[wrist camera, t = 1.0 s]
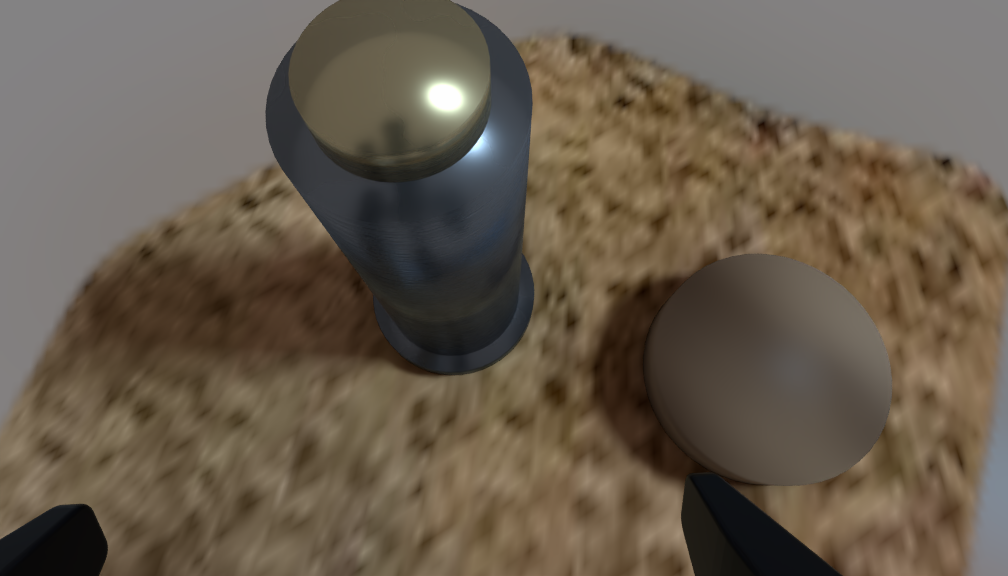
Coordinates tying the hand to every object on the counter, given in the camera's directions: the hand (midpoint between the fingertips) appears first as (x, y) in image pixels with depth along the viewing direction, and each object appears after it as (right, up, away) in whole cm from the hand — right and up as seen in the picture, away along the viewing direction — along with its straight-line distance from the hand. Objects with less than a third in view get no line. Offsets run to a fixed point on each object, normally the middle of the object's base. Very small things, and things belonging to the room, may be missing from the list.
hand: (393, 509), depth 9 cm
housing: (0, +3, +15) cm, 15 cm away
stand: (+11, 0, +14) cm, 18 cm away
